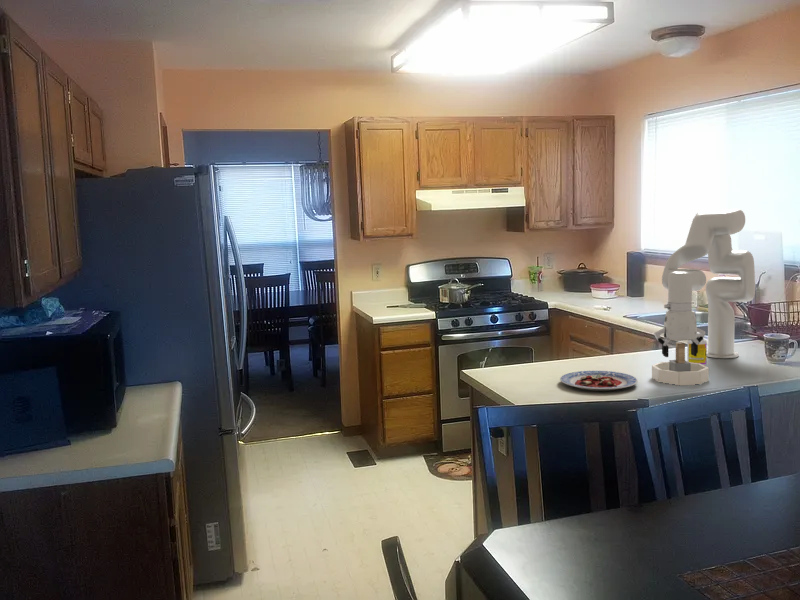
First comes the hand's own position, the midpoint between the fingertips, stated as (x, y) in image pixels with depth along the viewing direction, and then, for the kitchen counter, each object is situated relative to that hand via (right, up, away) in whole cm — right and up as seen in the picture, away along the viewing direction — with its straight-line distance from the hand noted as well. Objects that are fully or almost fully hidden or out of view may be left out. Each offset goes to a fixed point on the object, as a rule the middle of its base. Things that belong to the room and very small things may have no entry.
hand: (679, 355), depth 234 cm
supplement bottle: (+15, -6, +20) cm, 26 cm away
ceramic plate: (-29, -10, -1) cm, 30 cm away
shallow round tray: (0, -8, +1) cm, 8 cm away
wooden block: (+1, -7, +1) cm, 8 cm away
